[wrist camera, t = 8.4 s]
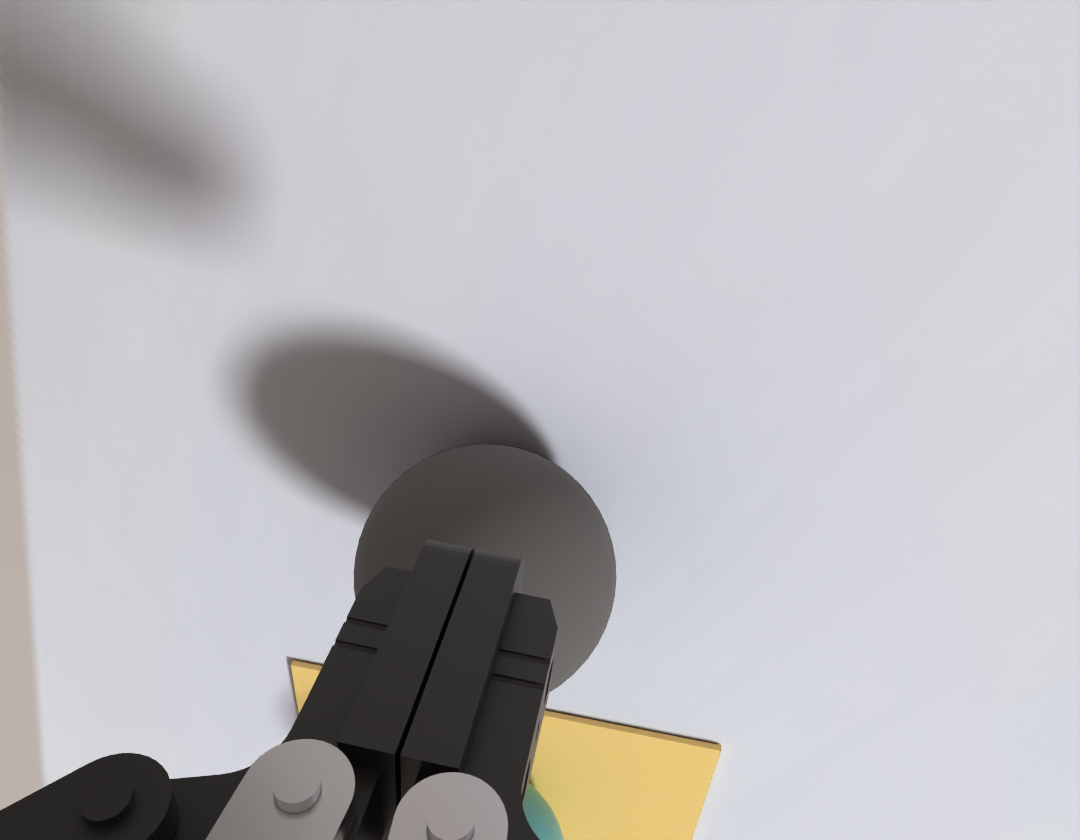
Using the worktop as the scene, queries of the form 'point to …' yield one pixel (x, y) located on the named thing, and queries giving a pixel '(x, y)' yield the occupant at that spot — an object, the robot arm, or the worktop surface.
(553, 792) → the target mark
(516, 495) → the dark gray ball
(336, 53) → the worktop surface
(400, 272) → the worktop surface
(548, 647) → the robot arm
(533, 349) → the worktop surface
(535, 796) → the object ball
